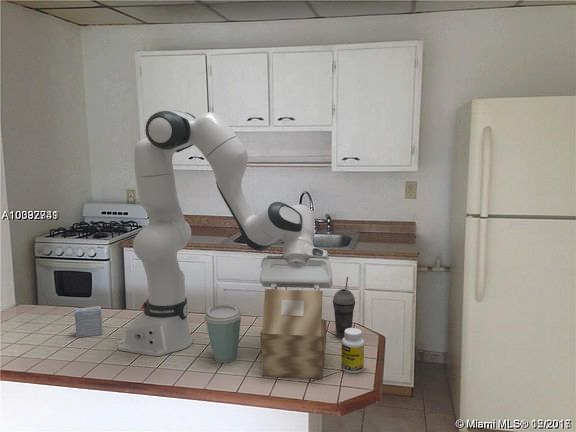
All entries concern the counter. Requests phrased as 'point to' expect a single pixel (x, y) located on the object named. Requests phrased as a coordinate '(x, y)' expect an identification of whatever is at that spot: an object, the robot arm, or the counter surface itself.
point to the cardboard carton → (293, 355)
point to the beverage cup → (343, 310)
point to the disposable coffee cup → (223, 331)
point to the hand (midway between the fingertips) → (294, 300)
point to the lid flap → (292, 312)
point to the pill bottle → (352, 351)
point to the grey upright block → (88, 321)
